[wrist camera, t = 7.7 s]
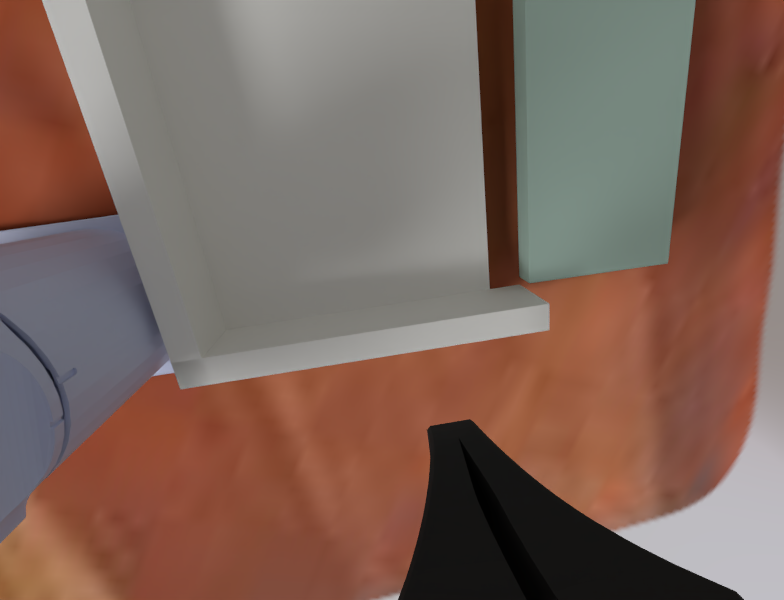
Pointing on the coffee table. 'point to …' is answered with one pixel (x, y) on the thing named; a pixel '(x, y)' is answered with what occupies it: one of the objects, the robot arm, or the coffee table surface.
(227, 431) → the coffee table surface
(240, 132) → the grey open tray
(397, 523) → the coffee table surface
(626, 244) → the panel
